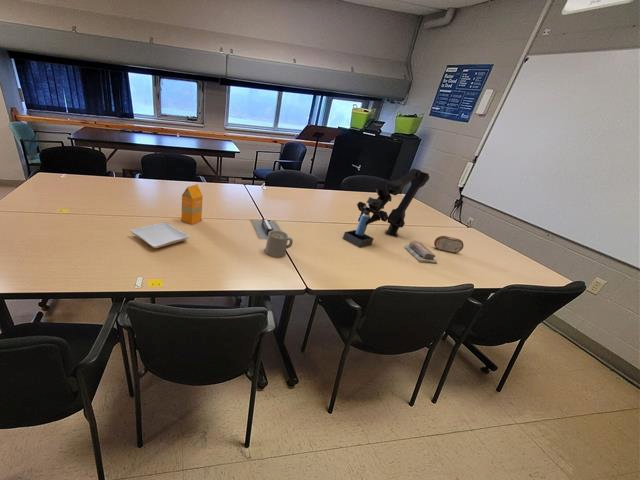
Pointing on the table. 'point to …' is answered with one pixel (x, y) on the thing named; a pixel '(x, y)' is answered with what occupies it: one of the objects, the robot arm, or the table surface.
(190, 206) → the orange juice
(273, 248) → the coffee mug
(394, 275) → the table surface
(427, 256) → the packaged product
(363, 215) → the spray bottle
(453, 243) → the tin
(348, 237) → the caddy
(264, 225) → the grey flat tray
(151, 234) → the salad plate
